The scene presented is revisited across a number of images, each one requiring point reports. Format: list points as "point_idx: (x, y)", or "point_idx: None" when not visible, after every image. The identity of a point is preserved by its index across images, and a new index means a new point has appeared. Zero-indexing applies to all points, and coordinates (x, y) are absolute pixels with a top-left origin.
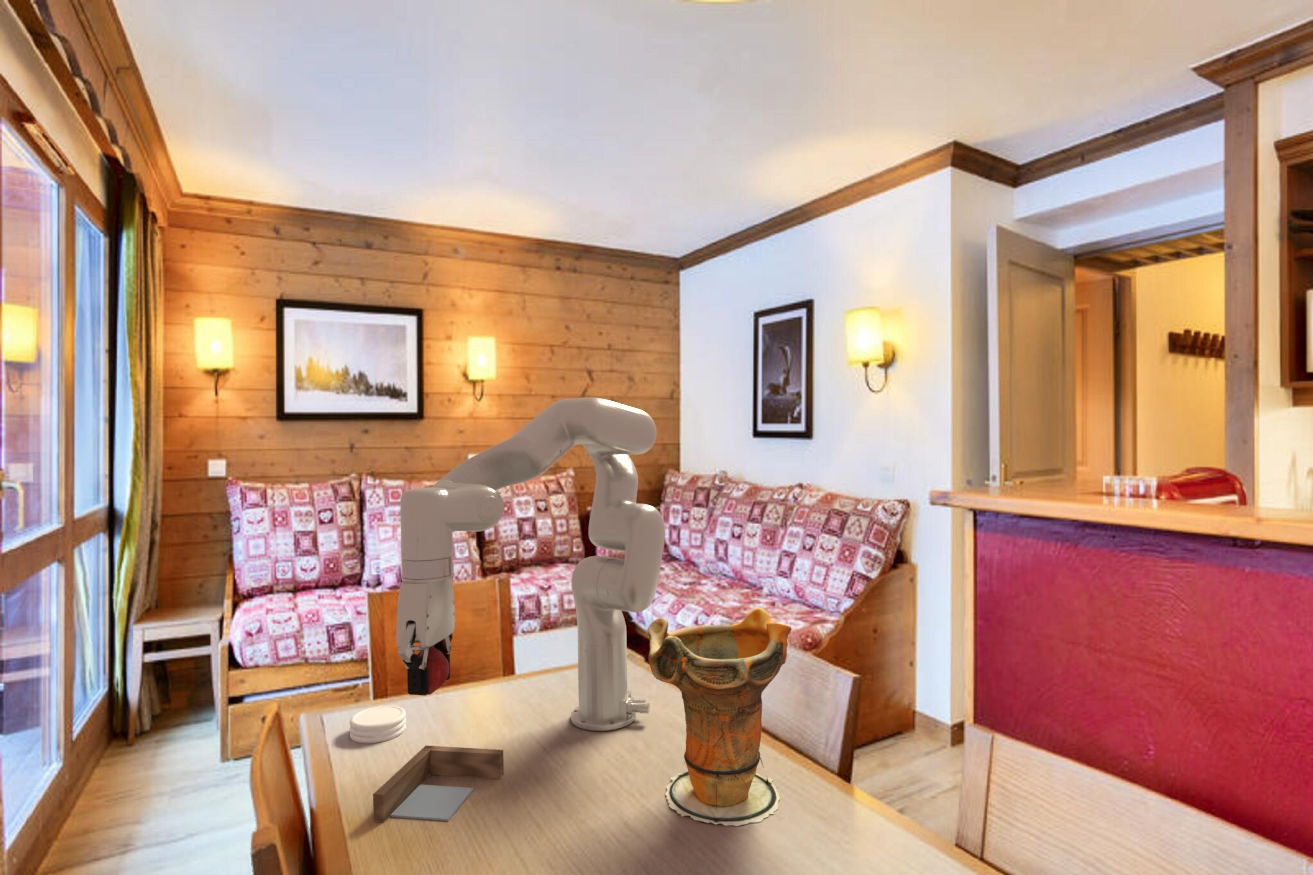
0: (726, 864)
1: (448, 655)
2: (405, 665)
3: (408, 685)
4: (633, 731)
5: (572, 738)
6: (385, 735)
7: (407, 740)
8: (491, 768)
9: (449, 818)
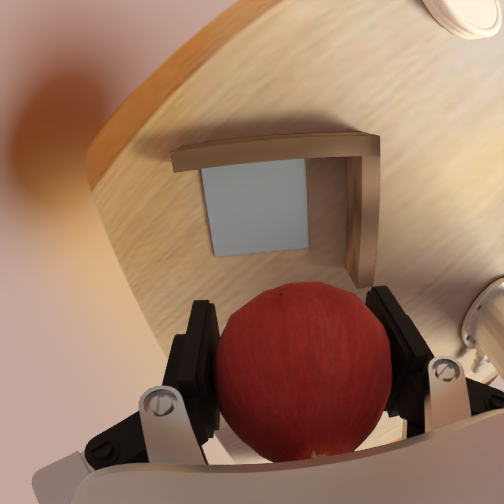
0: (227, 452)
1: (389, 414)
2: (140, 403)
3: (190, 322)
4: (454, 352)
5: (452, 303)
6: (440, 16)
7: (444, 53)
8: (350, 262)
9: (218, 256)
